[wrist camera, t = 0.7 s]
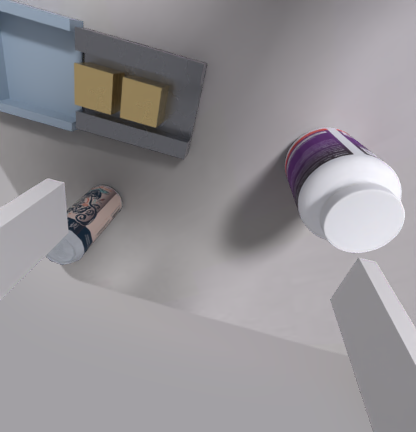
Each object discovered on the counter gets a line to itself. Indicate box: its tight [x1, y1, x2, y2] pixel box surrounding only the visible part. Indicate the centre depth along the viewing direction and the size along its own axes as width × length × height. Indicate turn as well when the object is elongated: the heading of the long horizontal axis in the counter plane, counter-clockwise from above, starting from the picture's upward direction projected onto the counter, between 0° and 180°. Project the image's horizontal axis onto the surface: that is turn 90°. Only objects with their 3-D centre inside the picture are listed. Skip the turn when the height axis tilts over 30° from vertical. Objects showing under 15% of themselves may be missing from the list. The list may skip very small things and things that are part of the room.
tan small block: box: [74, 62, 125, 115], centre depth 29 cm, size 4×4×3 cm
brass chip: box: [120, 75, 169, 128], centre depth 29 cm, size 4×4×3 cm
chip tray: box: [0, 0, 83, 131], centre depth 30 cm, size 11×10×2 cm
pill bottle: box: [285, 127, 405, 253], centre depth 26 cm, size 8×8×14 cm
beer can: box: [46, 185, 122, 265], centre depth 34 cm, size 5×5×12 cm
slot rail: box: [75, 27, 207, 159], centre depth 30 cm, size 10×13×2 cm
